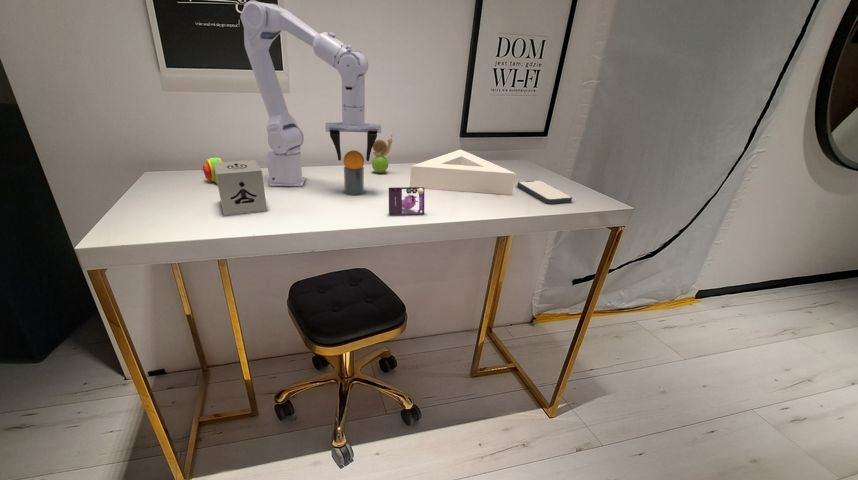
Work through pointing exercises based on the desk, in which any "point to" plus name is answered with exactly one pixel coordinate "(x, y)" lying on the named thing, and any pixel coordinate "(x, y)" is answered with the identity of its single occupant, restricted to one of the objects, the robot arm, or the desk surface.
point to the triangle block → (462, 174)
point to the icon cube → (240, 187)
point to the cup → (354, 181)
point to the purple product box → (405, 200)
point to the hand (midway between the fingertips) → (353, 159)
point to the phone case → (544, 192)
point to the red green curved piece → (211, 168)
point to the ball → (353, 160)
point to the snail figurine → (381, 155)
